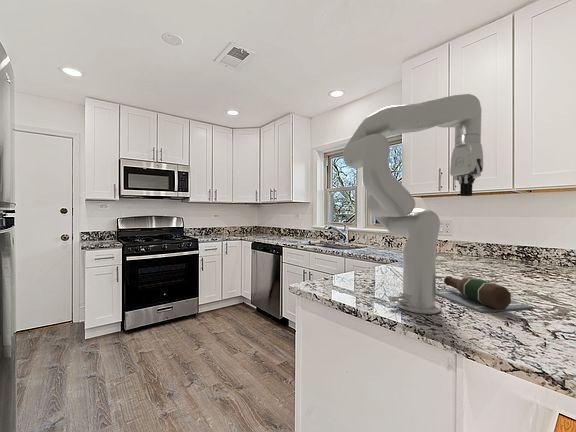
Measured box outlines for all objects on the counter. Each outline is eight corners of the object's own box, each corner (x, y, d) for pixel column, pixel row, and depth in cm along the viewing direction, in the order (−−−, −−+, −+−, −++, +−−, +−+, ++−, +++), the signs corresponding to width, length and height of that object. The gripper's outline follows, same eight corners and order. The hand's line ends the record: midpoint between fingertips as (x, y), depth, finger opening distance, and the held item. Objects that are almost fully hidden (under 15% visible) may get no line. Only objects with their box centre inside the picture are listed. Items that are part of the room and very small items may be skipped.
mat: (480, 312, 86) (480, 310, 86) (430, 292, 107) (430, 290, 107) (533, 308, 90) (533, 306, 90) (474, 290, 111) (474, 288, 111)
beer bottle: (495, 282, 86) (442, 267, 109) (486, 306, 85) (435, 286, 109) (516, 291, 86) (459, 274, 110) (507, 315, 86) (452, 293, 110)
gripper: (442, 146, 103) (441, 196, 103) (474, 135, 88) (473, 194, 88) (461, 147, 104) (460, 197, 104) (496, 137, 89) (494, 194, 89)
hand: (466, 195), depth 96 cm, fingers closed
